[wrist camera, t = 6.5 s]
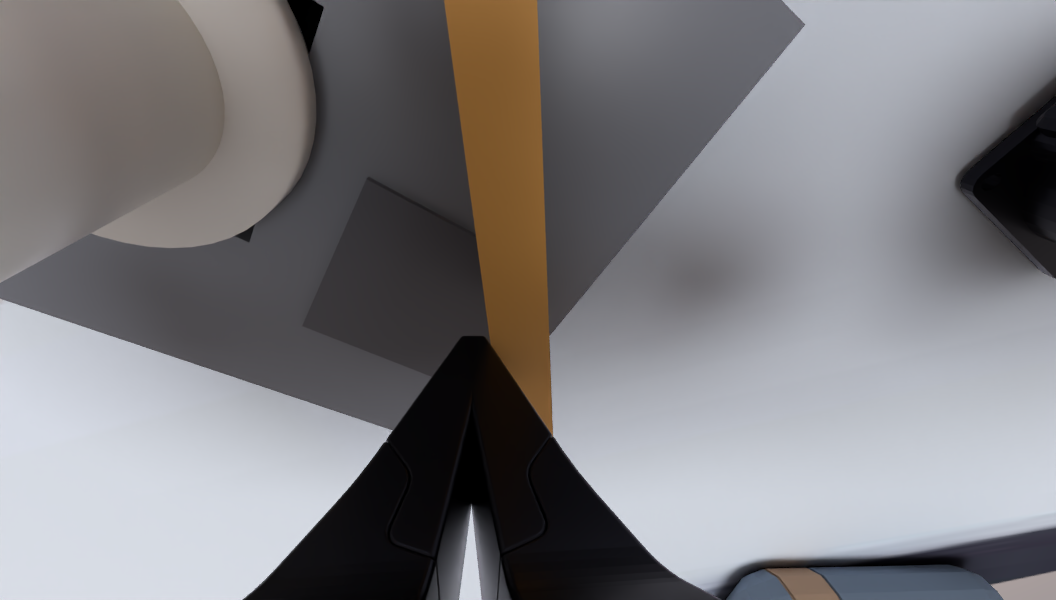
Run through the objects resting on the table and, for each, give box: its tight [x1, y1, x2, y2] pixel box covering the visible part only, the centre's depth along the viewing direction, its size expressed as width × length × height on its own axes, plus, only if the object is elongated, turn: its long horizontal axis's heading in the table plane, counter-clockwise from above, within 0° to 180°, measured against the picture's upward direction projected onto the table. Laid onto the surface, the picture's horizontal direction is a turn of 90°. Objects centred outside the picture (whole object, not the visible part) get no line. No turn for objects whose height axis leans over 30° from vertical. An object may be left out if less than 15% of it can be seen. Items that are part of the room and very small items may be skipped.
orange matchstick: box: [444, 0, 553, 437], centre depth 7 cm, size 14×2×1 cm, turn 3°
